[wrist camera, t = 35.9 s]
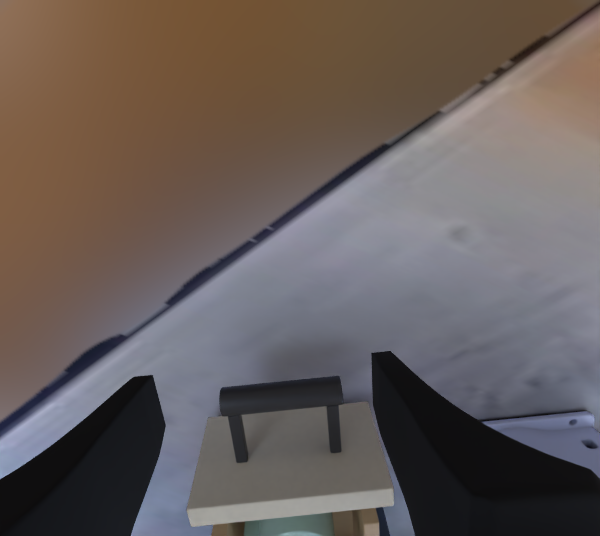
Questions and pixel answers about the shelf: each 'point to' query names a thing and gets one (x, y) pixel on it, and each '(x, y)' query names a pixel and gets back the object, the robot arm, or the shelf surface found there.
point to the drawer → (290, 459)
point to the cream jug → (292, 526)
